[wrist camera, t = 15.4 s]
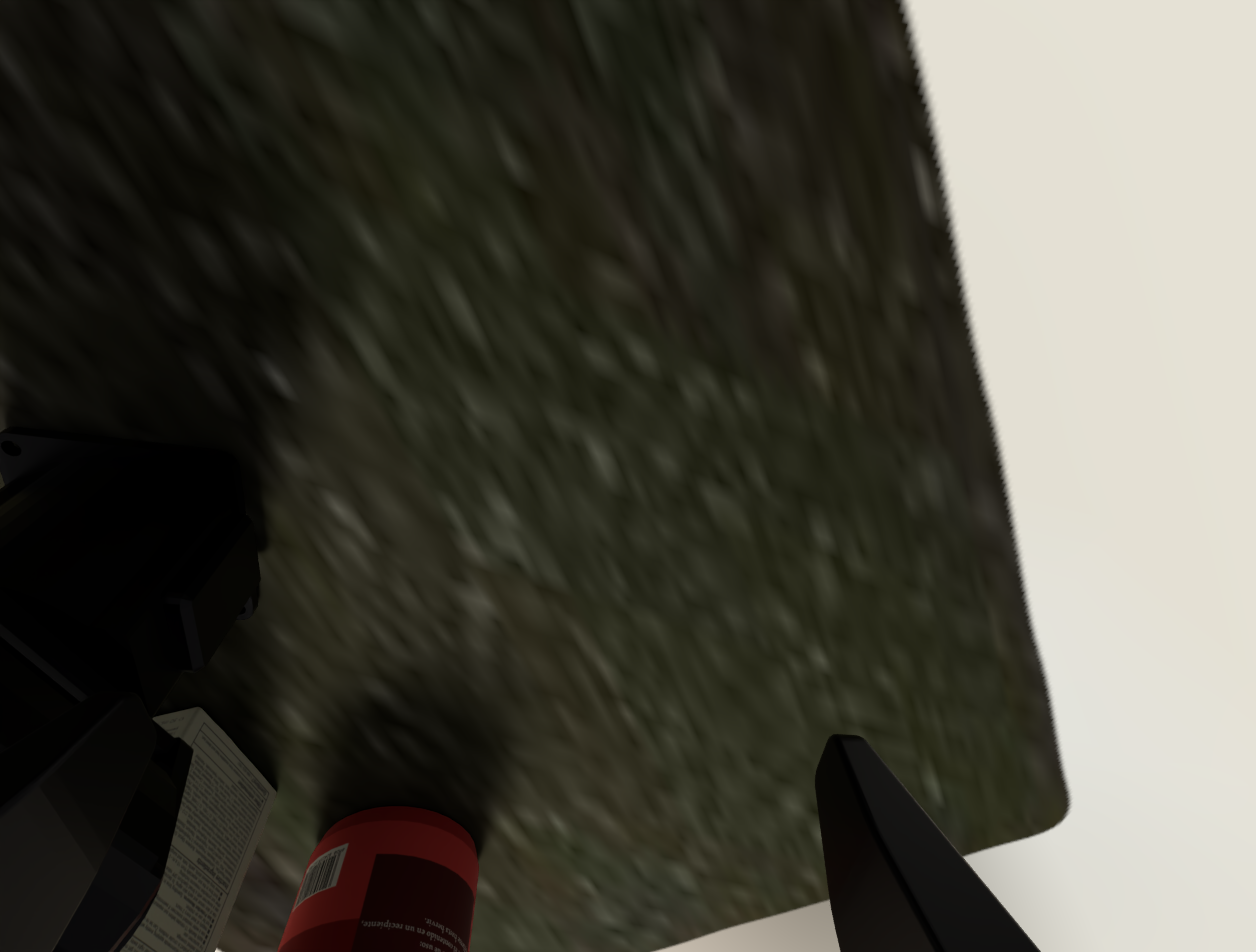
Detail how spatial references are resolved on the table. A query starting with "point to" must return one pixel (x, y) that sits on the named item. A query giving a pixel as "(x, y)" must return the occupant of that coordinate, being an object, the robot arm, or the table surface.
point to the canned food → (387, 886)
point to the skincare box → (205, 840)
